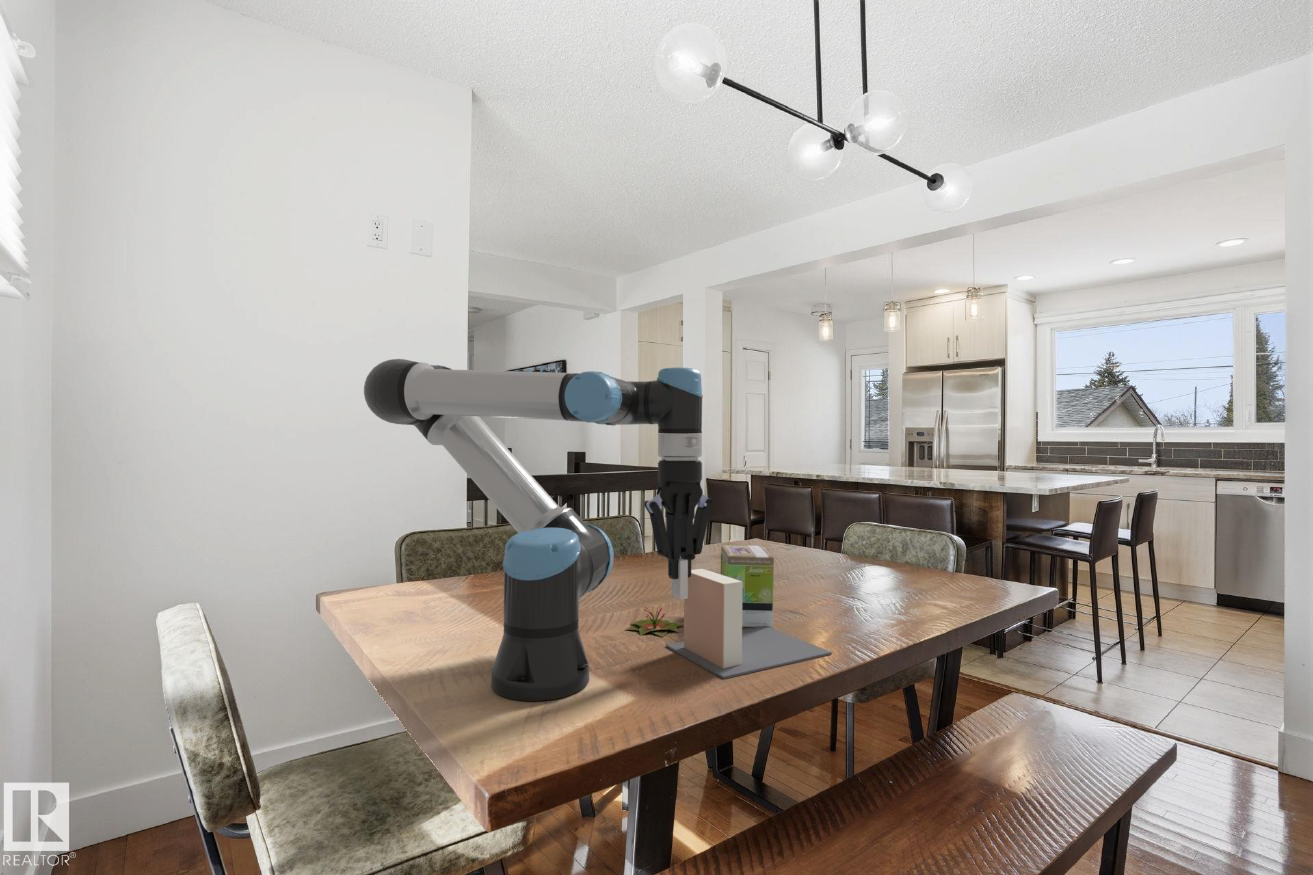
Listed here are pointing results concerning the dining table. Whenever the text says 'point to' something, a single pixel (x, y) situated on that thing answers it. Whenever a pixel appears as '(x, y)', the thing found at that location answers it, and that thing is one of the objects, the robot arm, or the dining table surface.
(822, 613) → the dining table surface
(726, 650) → the cream rectangular block
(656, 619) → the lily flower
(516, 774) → the dining table surface
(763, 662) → the mat
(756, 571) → the tea box
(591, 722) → the dining table surface
